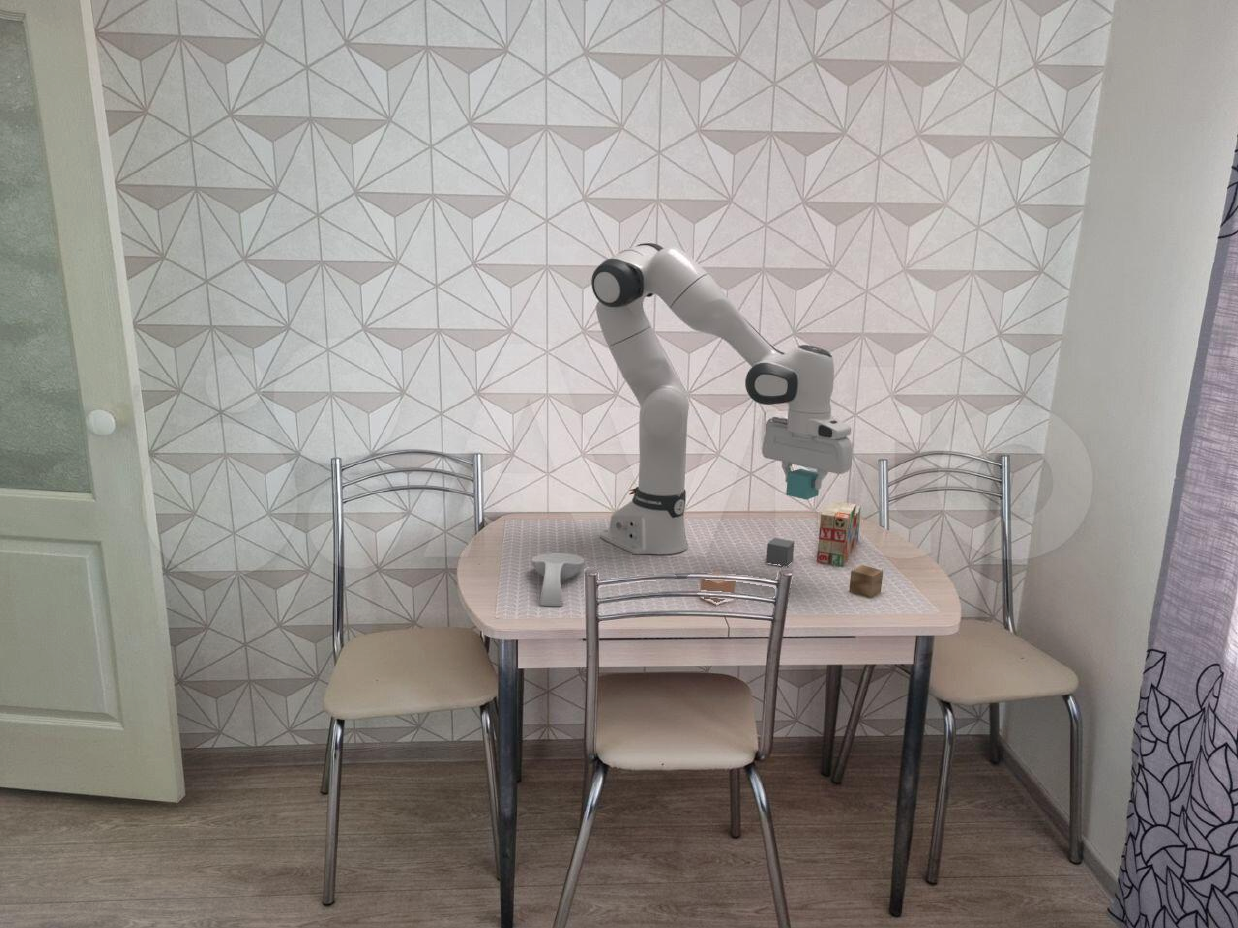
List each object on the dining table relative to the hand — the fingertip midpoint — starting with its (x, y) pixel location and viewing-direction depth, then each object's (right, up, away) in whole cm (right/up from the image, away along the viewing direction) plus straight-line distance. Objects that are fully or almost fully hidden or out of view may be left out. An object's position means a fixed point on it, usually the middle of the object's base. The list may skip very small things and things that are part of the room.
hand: (803, 485), depth 194 cm
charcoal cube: (-2, -19, +17) cm, 25 cm away
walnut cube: (+14, -23, +1) cm, 27 cm away
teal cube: (0, -2, +1) cm, 2 cm away
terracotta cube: (-19, -24, -6) cm, 31 cm away
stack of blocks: (+14, -17, +26) cm, 34 cm away
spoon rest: (-53, -22, -1) cm, 58 cm away
